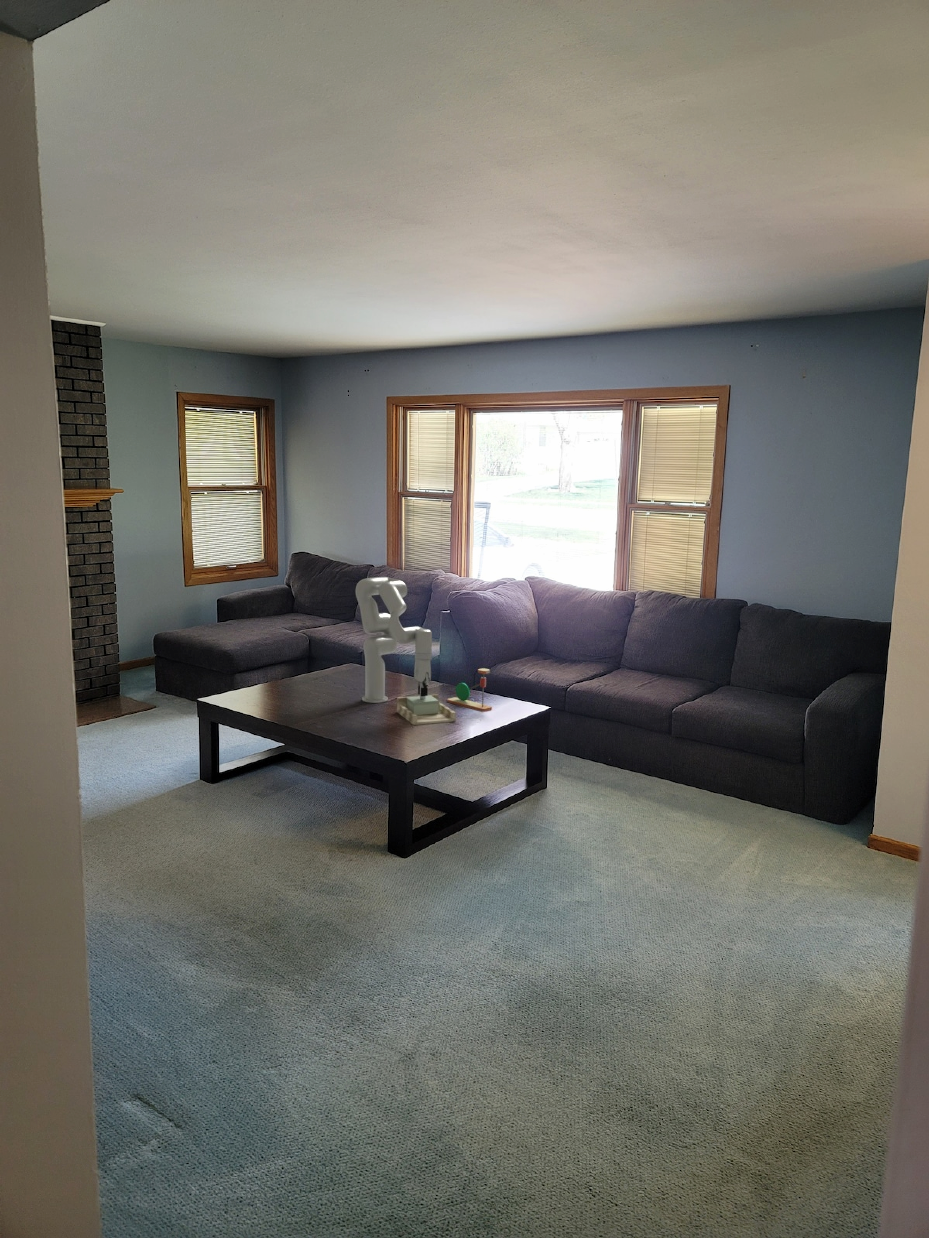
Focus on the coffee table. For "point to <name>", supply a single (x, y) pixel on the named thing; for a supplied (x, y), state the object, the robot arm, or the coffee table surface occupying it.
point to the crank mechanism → (464, 693)
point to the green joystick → (423, 704)
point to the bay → (442, 716)
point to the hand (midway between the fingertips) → (422, 694)
